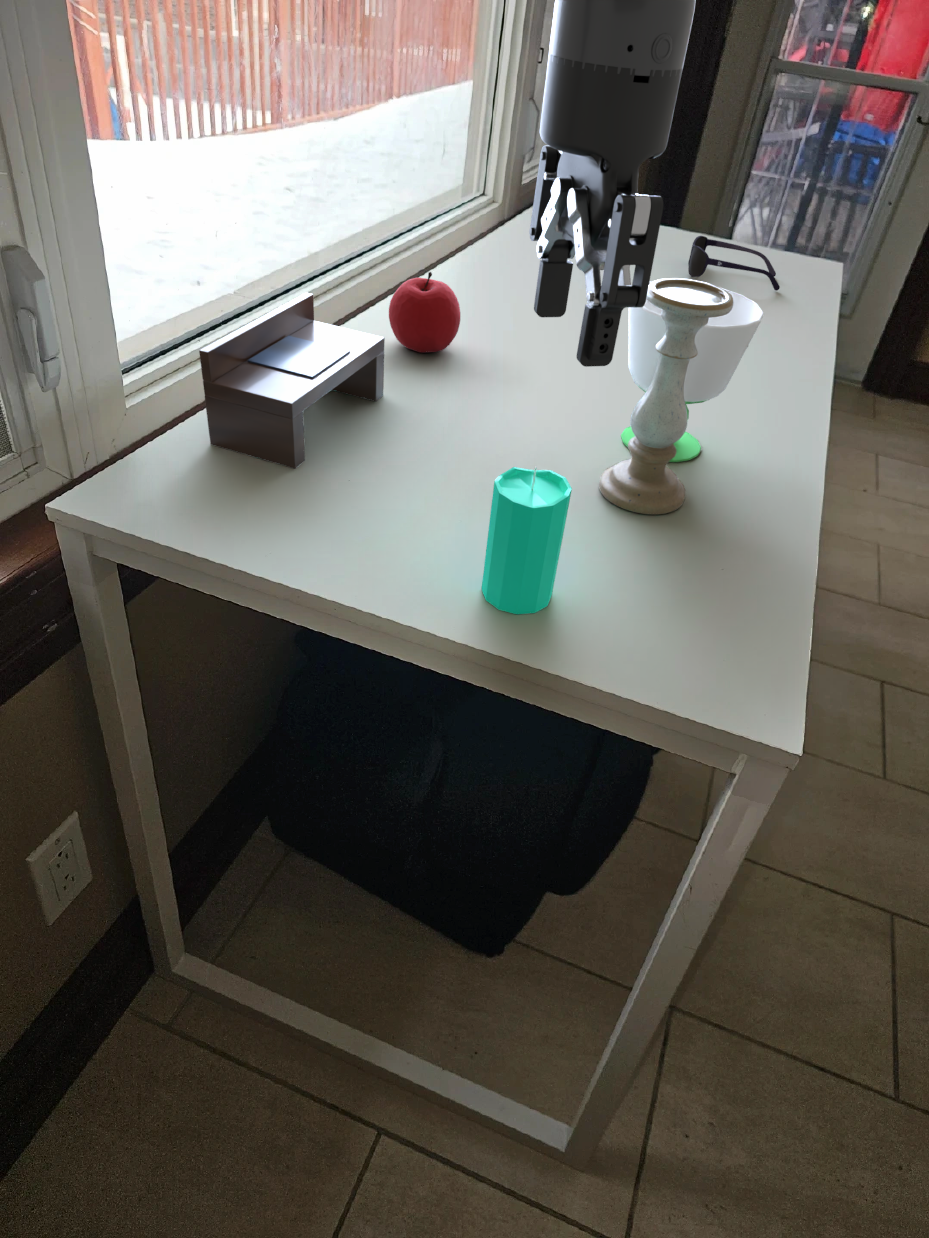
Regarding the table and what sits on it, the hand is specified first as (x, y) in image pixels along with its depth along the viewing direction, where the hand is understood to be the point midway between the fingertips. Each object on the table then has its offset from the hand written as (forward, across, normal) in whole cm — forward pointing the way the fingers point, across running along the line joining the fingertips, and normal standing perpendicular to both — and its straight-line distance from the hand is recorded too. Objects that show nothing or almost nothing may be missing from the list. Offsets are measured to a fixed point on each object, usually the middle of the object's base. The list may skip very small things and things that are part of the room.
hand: (569, 338), depth 57 cm
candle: (+22, 0, -1) cm, 22 cm away
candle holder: (+22, -14, +17) cm, 32 cm away
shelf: (+22, -34, -15) cm, 44 cm away
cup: (+22, -24, +24) cm, 41 cm away
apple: (+22, -54, +3) cm, 58 cm away
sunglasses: (+22, -82, +65) cm, 107 cm away
